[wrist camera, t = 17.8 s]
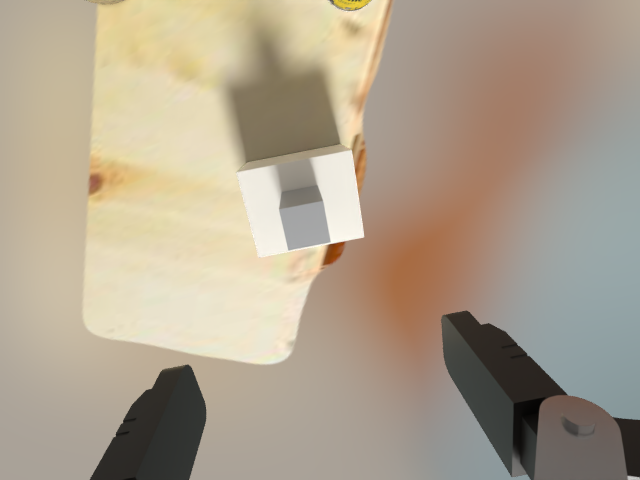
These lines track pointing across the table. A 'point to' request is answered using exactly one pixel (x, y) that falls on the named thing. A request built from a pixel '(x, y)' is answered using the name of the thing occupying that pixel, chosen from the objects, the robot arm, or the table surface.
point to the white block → (301, 200)
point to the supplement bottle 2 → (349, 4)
